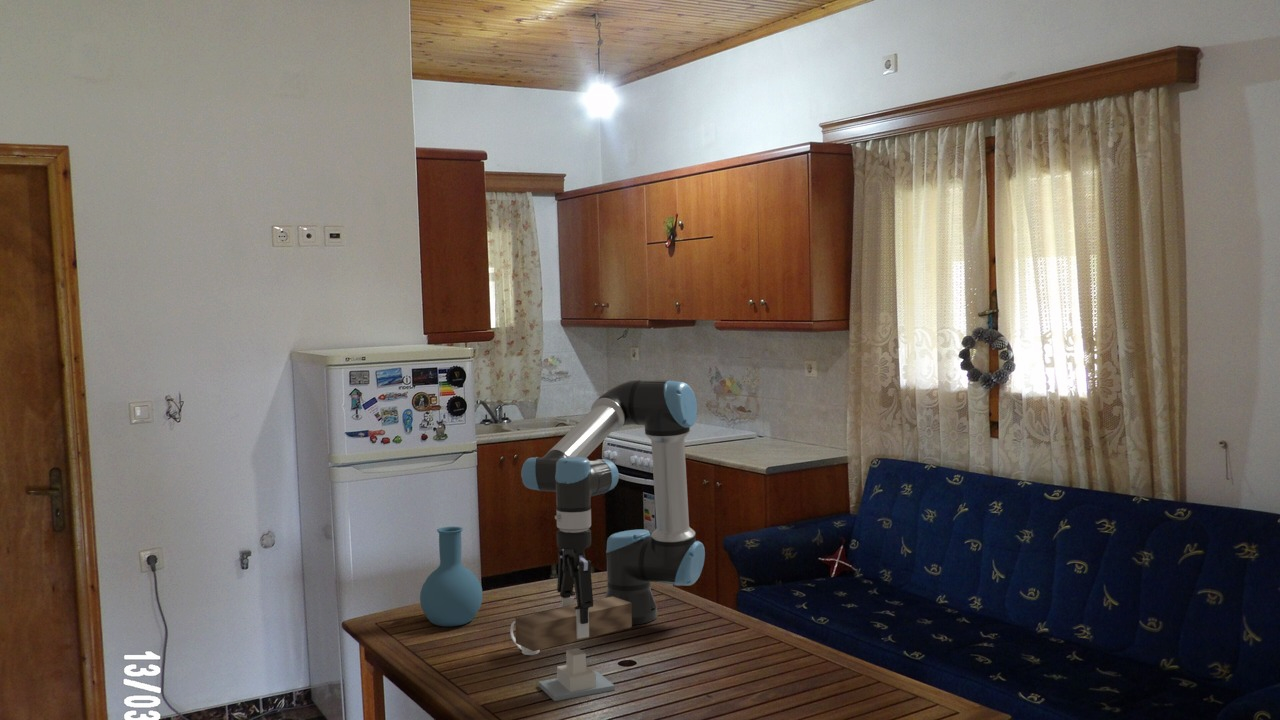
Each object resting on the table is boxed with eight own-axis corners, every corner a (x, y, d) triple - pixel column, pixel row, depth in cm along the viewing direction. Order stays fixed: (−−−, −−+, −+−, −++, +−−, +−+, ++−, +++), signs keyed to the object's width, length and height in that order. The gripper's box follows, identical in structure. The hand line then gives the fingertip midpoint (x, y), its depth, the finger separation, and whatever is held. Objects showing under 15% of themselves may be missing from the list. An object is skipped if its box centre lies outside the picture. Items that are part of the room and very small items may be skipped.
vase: (495, 617, 275) (493, 526, 274) (453, 634, 261) (451, 538, 260) (450, 609, 284) (448, 520, 283) (407, 624, 270) (405, 531, 269)
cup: (531, 658, 242) (530, 625, 241) (501, 651, 248) (500, 618, 247) (551, 650, 247) (550, 618, 247) (521, 643, 253) (520, 611, 253)
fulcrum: (597, 675, 230) (596, 640, 230) (614, 689, 221) (614, 653, 221) (538, 685, 224) (538, 650, 224) (554, 701, 215) (553, 664, 215)
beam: (613, 620, 233) (612, 596, 232) (631, 627, 227) (631, 602, 227) (515, 643, 217) (515, 617, 216) (533, 651, 211) (533, 625, 211)
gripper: (541, 522, 229) (543, 621, 230) (575, 539, 210) (576, 648, 211) (572, 518, 232) (573, 617, 233) (608, 536, 213) (609, 643, 214)
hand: (575, 631), depth 222 cm, fingers closed on beam, 8 cm apart
